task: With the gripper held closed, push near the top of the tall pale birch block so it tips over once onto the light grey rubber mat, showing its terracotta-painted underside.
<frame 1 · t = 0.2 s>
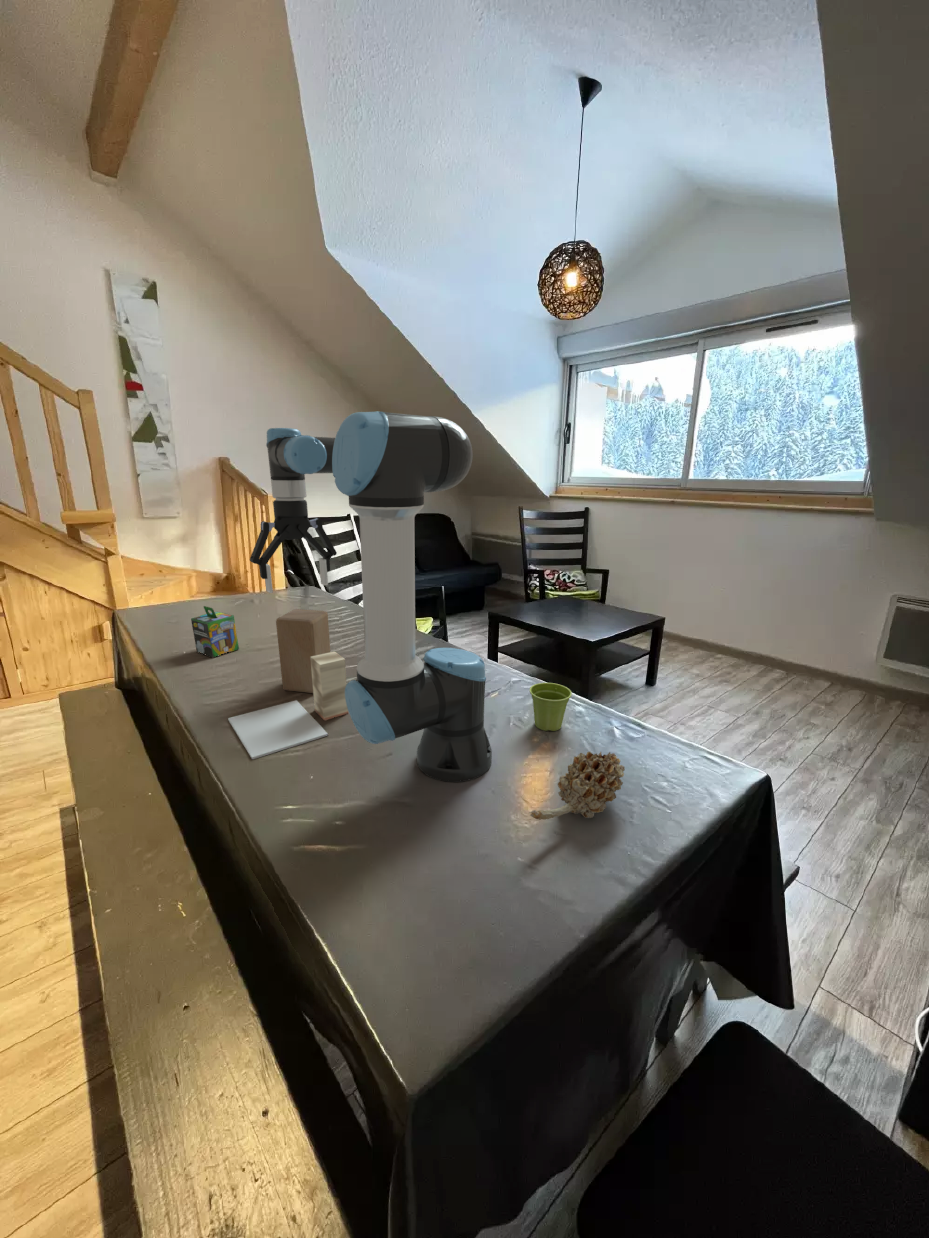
hand: (297, 588, 124), 28 cm above the table, tool pointing down, fingers open, 13 cm apart
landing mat: (276, 727, 114), on the table
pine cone: (575, 817, 87), on the table
plant pot: (548, 725, 117), on the table
birch block: (331, 712, 122), on the table
block: (308, 685, 136), on the table
chalk box: (217, 651, 159), on the table
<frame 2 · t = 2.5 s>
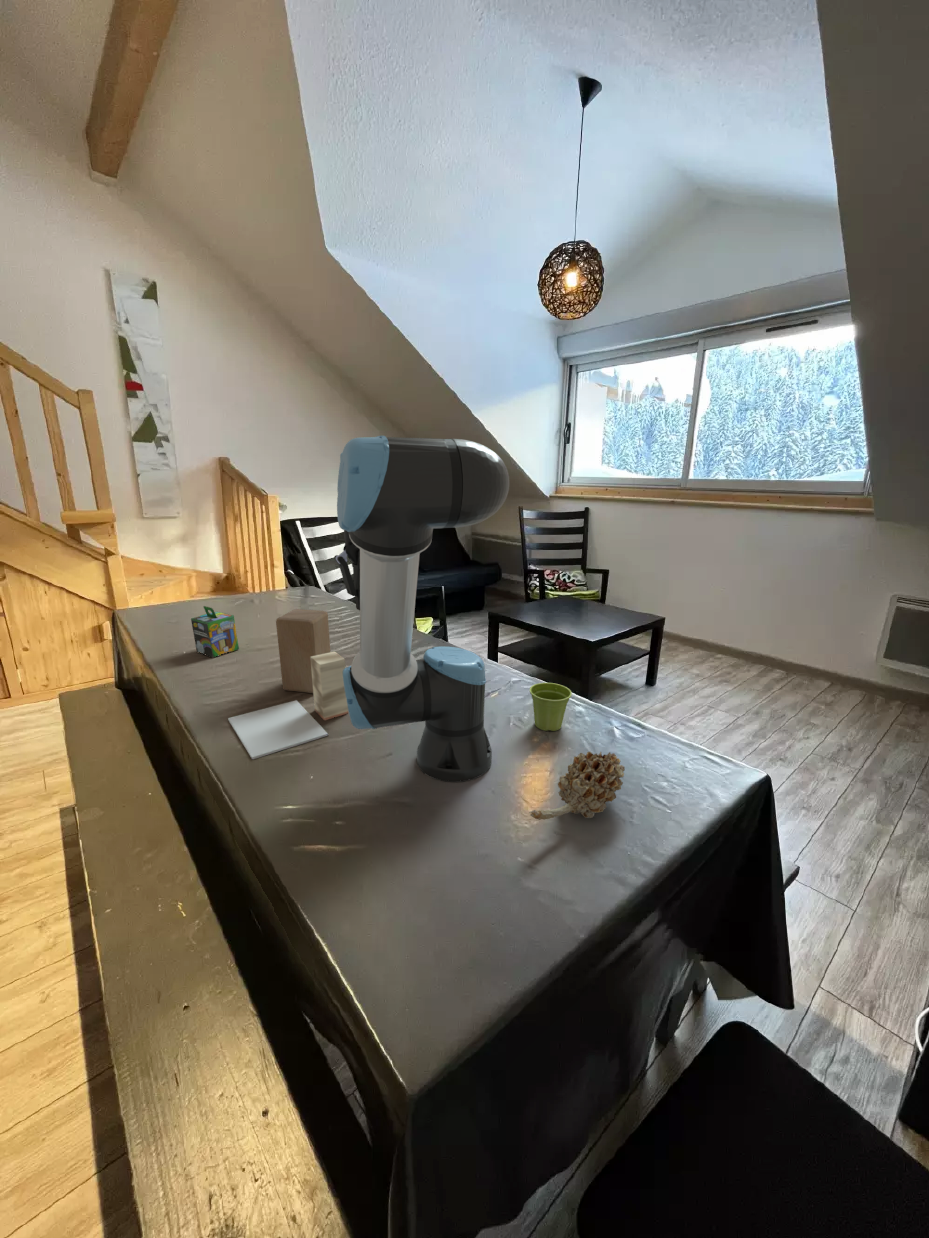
hand: (365, 622, 122), 21 cm above the table, tool pointing down, fingers closed
nothing on the table moved.
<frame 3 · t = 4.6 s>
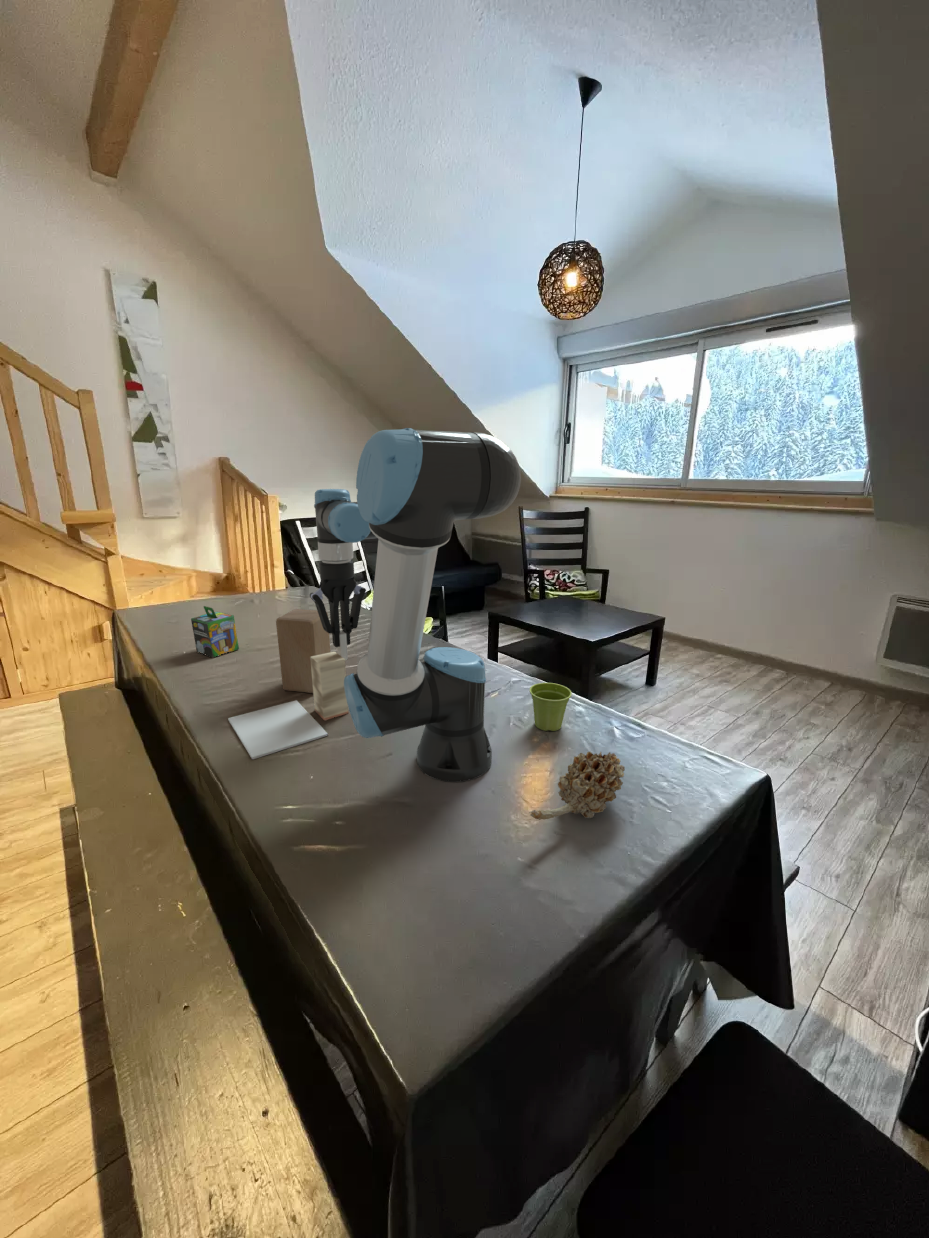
hand: (342, 658, 120), 13 cm above the table, tool pointing down, fingers closed
birch block: (331, 712, 122), on the table, touching gripper
everything else where it was.
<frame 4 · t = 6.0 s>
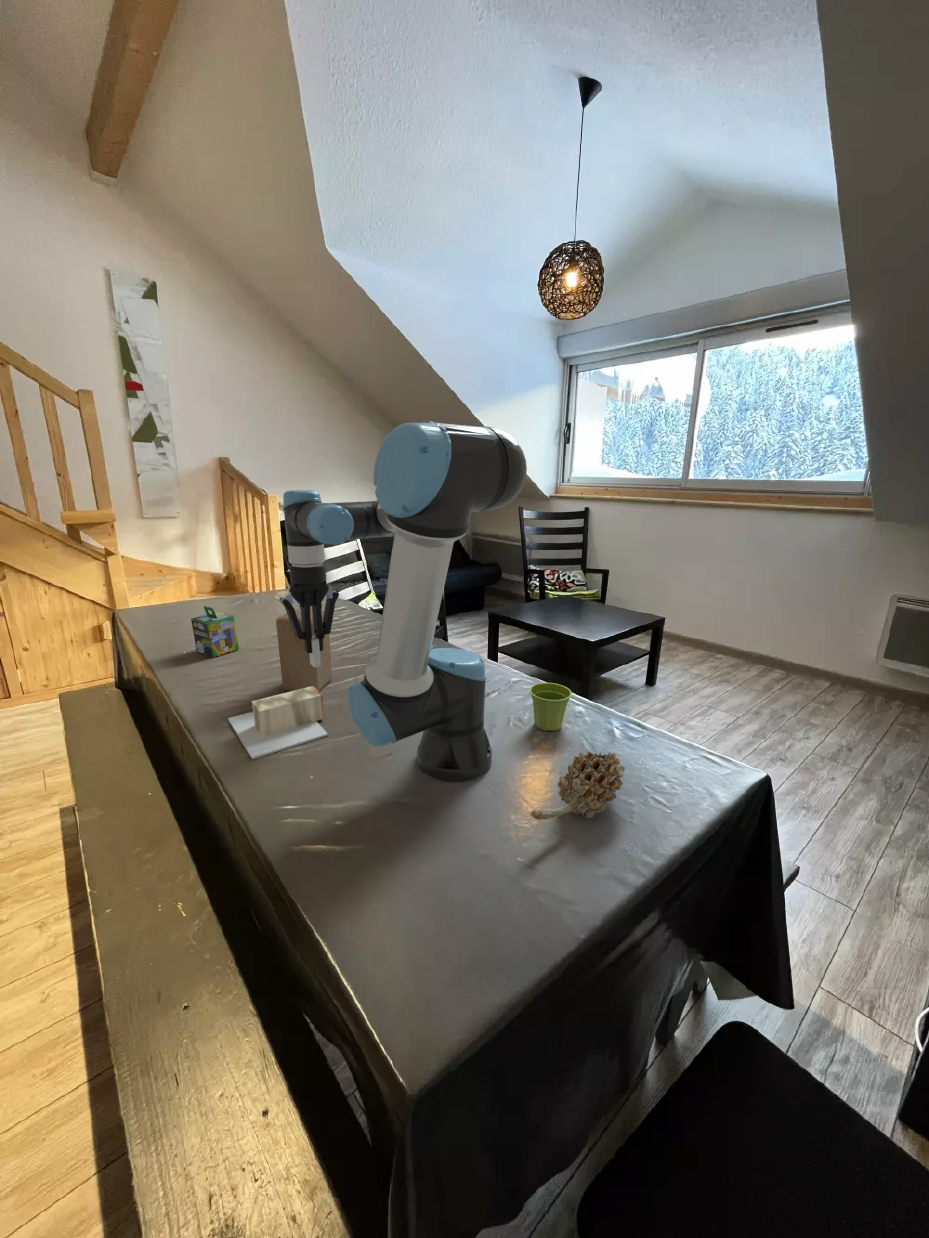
hand: (315, 664, 116), 13 cm above the table, tool pointing down, fingers closed
birch block: (318, 701, 119), point 3 cm above the table, tilted 90°, touching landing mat
everything else where it was.
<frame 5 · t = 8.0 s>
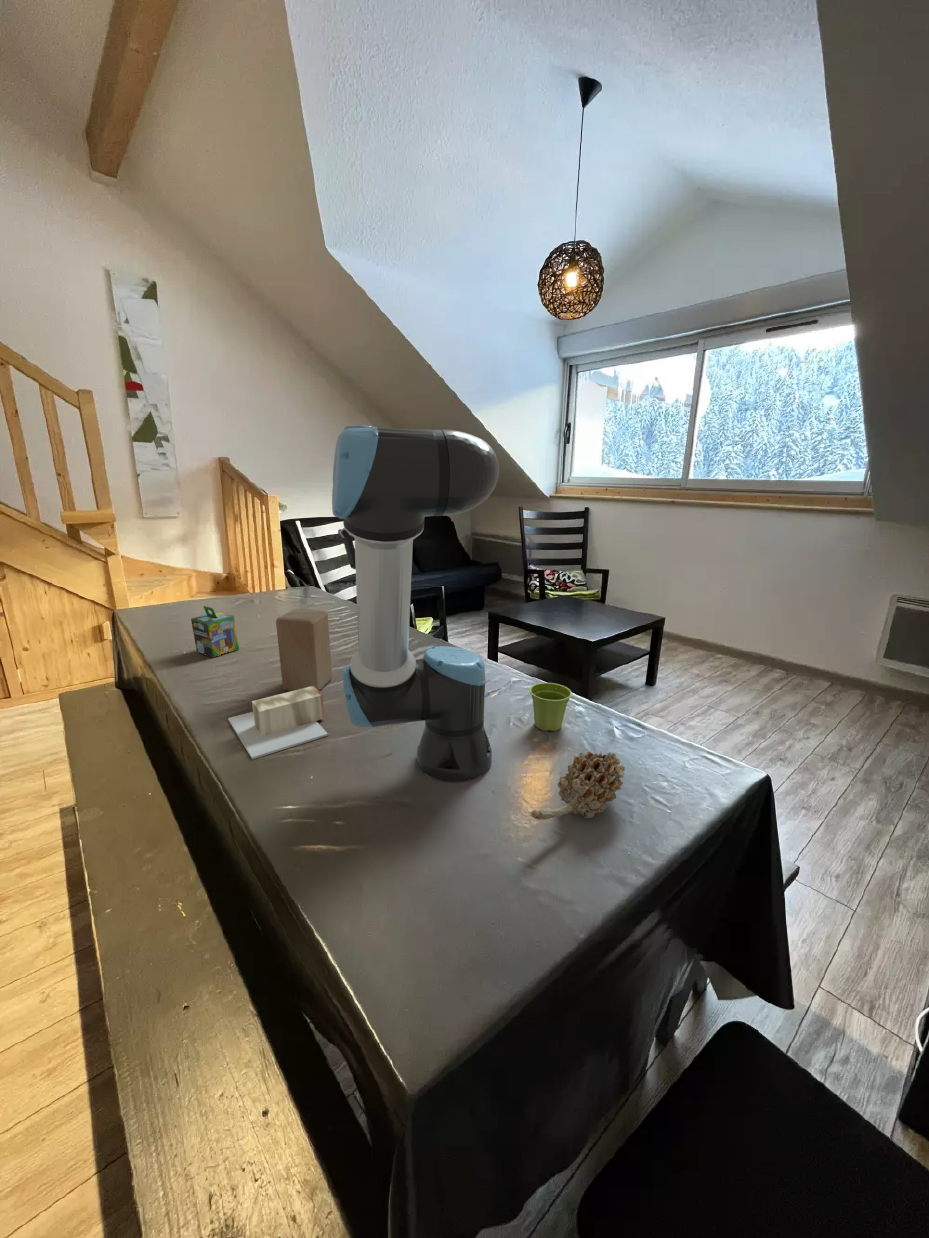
hand: (368, 596, 123), 26 cm above the table, tool pointing down, fingers closed
nothing on the table moved.
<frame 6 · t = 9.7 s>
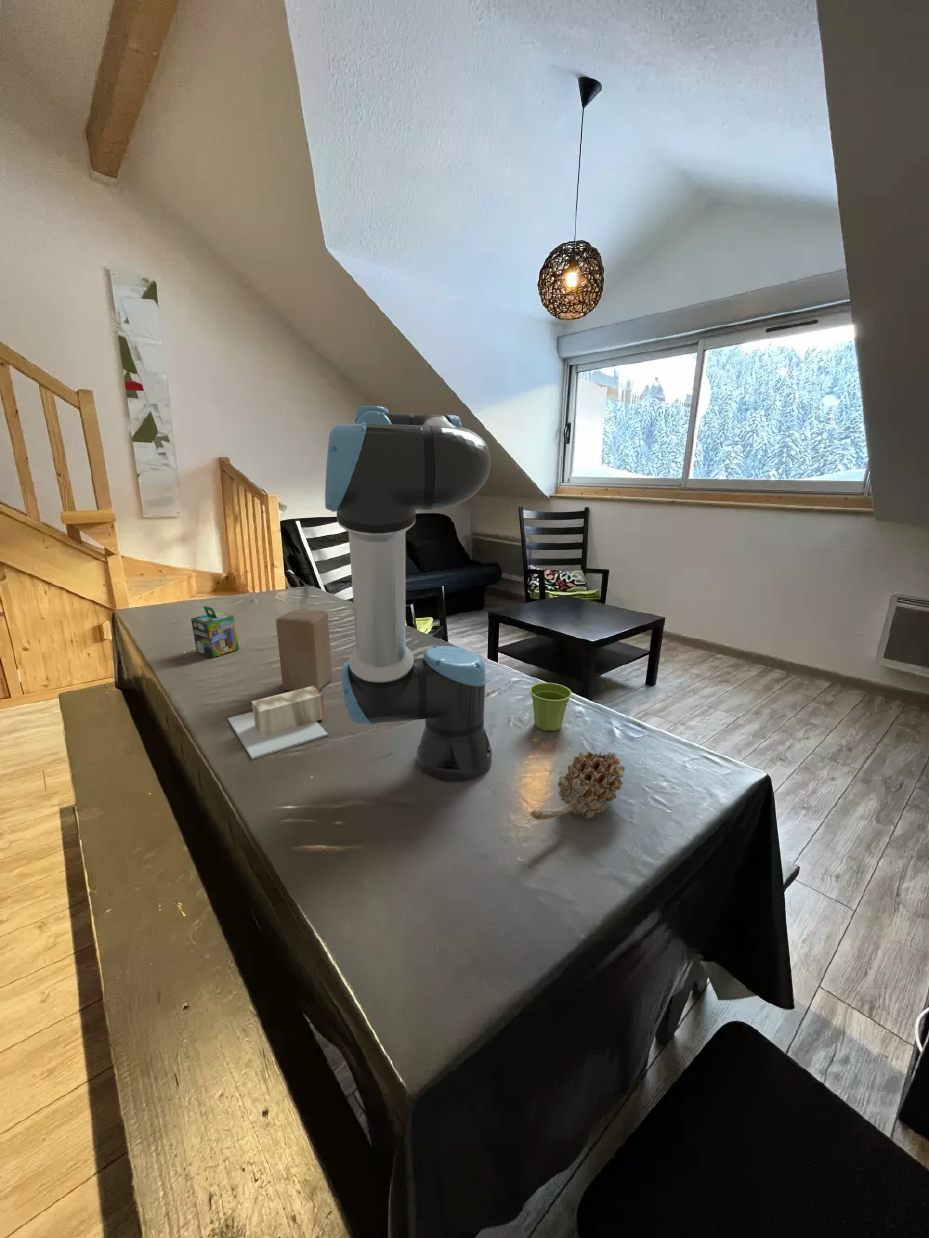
hand: (378, 577, 125), 30 cm above the table, tool pointing down, fingers closed
nothing on the table moved.
at the end: birch block tilted 90°; birch block touching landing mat; birch block inside the target area (2.6 cm from its centre), point 3.5 cm above the table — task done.
